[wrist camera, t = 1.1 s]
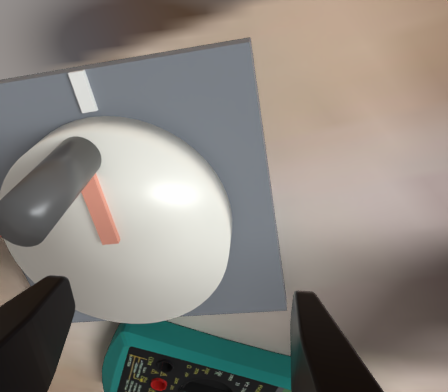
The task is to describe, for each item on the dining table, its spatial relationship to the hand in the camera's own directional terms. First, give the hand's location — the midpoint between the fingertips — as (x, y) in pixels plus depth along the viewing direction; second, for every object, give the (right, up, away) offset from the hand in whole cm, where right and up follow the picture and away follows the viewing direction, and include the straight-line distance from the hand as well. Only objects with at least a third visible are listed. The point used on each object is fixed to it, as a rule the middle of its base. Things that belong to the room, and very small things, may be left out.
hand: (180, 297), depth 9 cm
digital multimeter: (+1, -10, +21) cm, 23 cm away
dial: (-4, +1, +12) cm, 13 cm away
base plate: (-4, +2, +13) cm, 14 cm away
